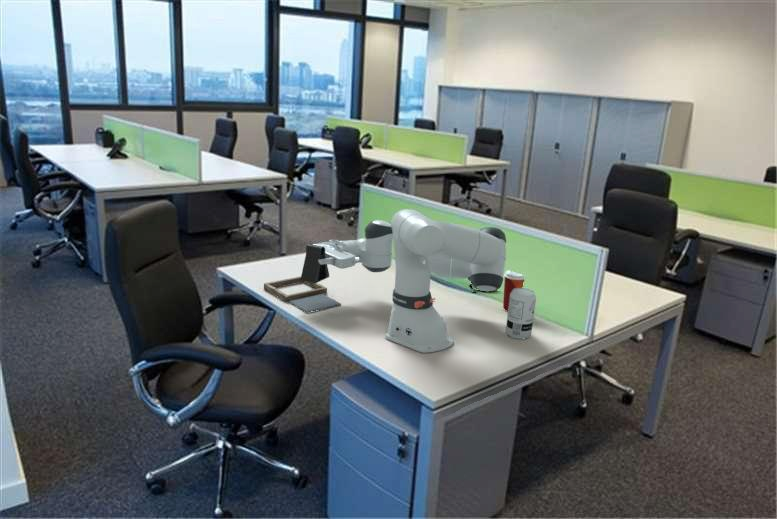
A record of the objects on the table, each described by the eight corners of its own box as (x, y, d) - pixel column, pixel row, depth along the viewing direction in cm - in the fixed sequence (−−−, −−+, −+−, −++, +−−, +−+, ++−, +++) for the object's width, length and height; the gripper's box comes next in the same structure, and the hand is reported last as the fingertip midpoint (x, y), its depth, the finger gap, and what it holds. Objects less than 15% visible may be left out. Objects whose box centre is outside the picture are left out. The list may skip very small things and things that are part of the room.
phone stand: (315, 273, 212) (316, 241, 208) (329, 276, 209) (330, 244, 206) (300, 280, 204) (300, 246, 201) (314, 283, 202) (315, 250, 198)
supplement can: (503, 329, 197) (508, 286, 193) (528, 330, 197) (533, 288, 192) (507, 339, 189) (512, 295, 185) (533, 340, 189) (539, 297, 185)
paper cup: (515, 315, 209) (520, 277, 205) (496, 309, 214) (500, 272, 210) (525, 309, 215) (530, 272, 211) (506, 303, 220) (510, 268, 216)
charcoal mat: (340, 305, 210) (340, 303, 210) (307, 313, 201) (307, 311, 201) (322, 295, 218) (322, 293, 218) (289, 302, 210) (289, 300, 210)
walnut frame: (327, 293, 221) (327, 288, 220) (286, 302, 210) (286, 296, 209) (303, 280, 233) (303, 275, 232) (263, 288, 222) (263, 283, 221)
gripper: (362, 269, 206) (330, 276, 198) (329, 254, 221) (297, 260, 212) (363, 252, 204) (330, 257, 196) (330, 238, 219) (297, 243, 211)
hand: (313, 259), depth 204 cm, fingers closed on phone stand, 6 cm apart
